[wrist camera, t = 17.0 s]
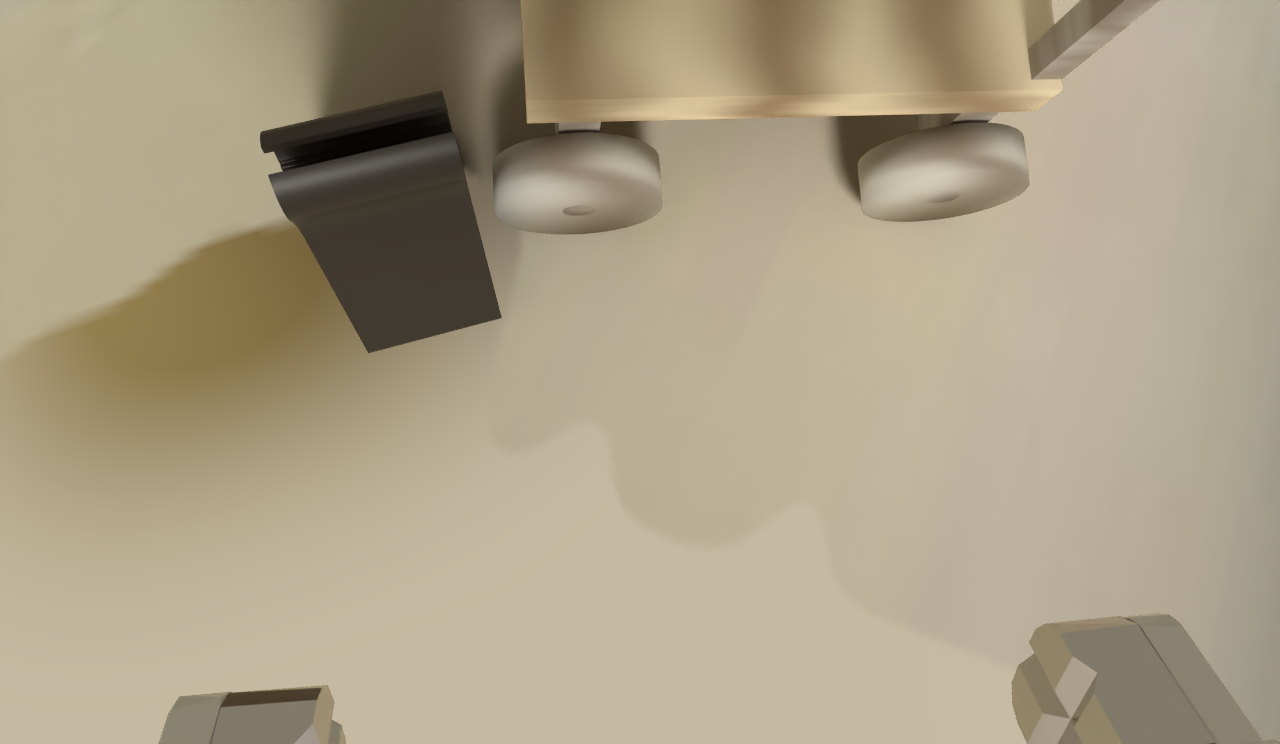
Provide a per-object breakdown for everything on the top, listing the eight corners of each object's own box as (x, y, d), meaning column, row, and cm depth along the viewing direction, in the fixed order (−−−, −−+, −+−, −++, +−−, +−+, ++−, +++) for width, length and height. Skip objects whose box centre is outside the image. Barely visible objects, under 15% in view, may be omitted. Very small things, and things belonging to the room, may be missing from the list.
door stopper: (319, 163, 41) (231, 29, 29) (451, 133, 42) (416, -9, 30) (368, 354, 40) (297, 296, 29) (502, 320, 41) (486, 249, 29)
